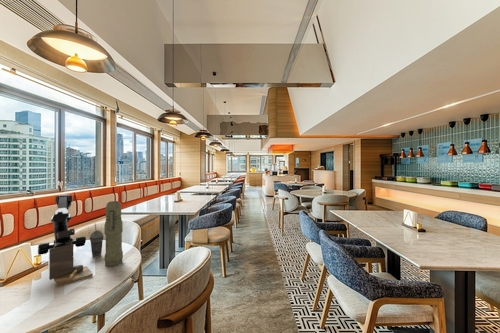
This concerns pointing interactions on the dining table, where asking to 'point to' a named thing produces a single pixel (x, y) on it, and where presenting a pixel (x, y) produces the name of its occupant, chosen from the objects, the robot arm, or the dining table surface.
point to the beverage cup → (96, 242)
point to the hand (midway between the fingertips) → (64, 259)
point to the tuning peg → (62, 262)
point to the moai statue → (113, 234)
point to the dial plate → (77, 277)
